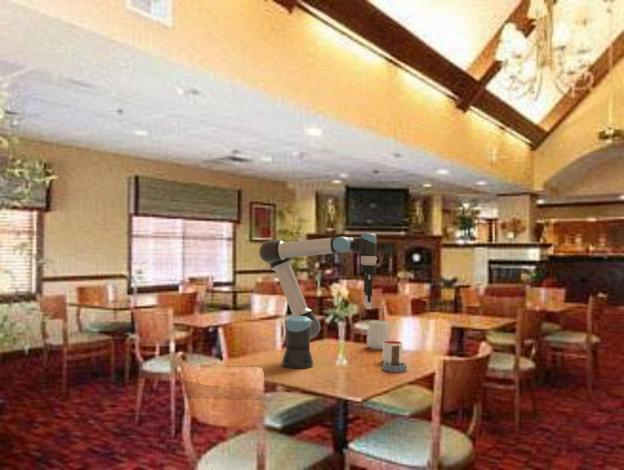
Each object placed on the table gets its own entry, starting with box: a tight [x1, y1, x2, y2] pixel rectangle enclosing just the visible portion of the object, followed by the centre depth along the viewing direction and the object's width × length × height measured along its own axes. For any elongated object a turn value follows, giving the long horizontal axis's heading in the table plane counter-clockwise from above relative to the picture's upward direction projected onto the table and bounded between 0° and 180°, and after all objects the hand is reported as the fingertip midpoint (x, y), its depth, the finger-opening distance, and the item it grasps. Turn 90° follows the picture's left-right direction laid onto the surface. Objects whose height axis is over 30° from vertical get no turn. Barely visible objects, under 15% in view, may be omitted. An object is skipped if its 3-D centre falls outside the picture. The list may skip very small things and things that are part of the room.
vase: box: [366, 320, 392, 350], centre depth 342 cm, size 14×14×15 cm
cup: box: [381, 340, 403, 363], centre depth 301 cm, size 10×10×10 cm
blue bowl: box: [382, 361, 408, 373], centre depth 282 cm, size 11×11×4 cm
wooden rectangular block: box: [391, 345, 399, 366], centre depth 282 cm, size 3×2×11 cm
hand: (367, 307), depth 291 cm, fingers open, 13 cm apart
